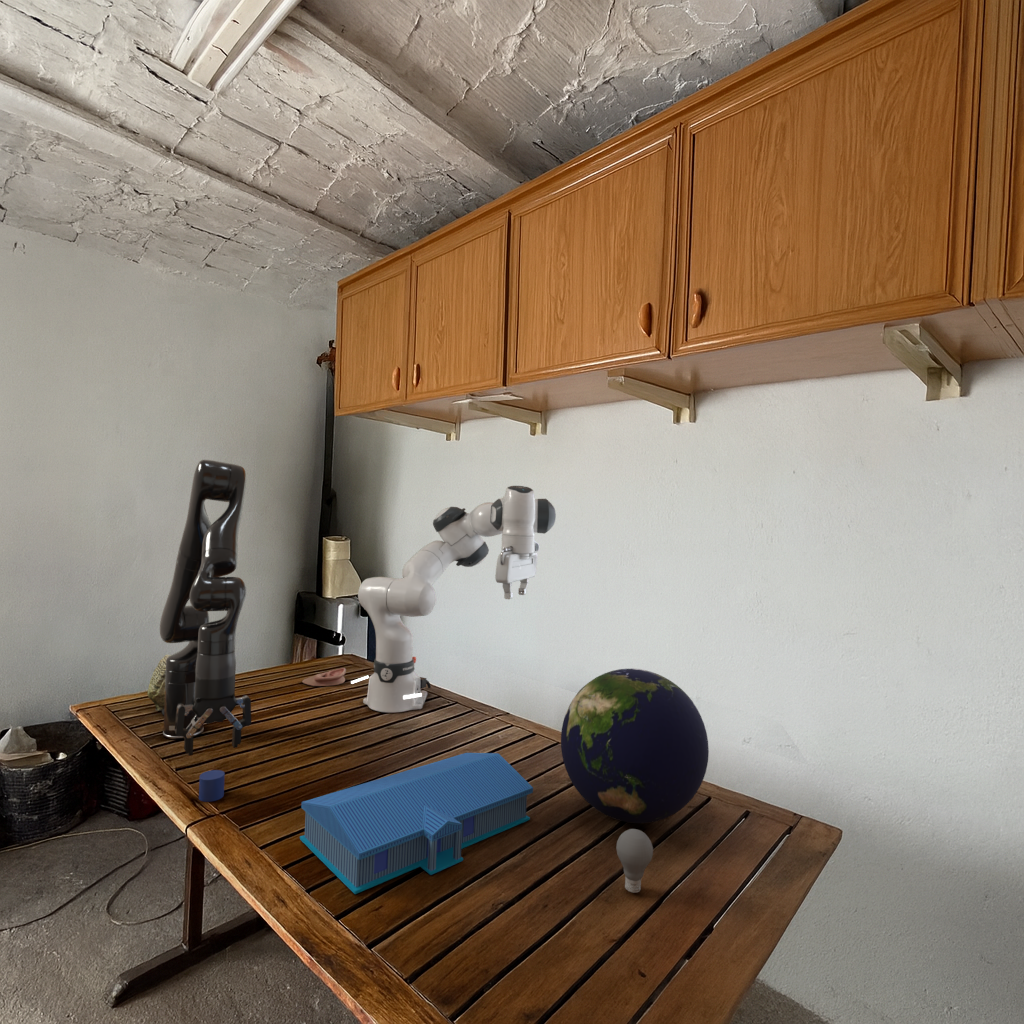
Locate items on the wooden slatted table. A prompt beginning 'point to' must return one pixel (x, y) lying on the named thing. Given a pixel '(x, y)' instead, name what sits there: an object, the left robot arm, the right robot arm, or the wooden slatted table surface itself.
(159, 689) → the fossil
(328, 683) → the anatomical model
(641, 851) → the light bulb
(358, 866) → the model building
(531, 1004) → the wooden slatted table surface
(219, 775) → the canister
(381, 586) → the right robot arm
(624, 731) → the globe
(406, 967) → the wooden slatted table surface
